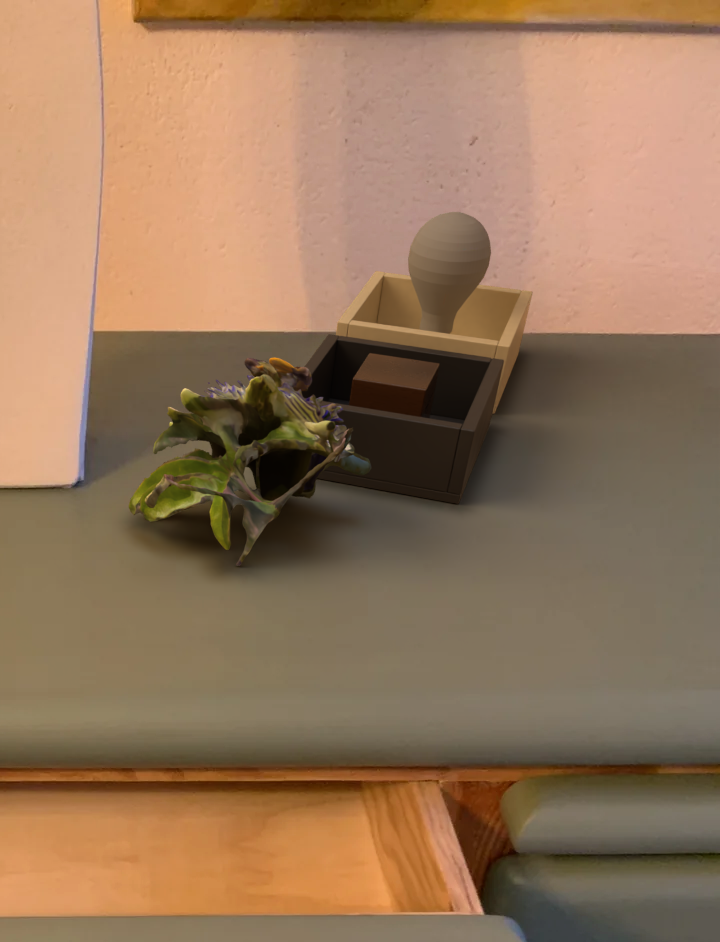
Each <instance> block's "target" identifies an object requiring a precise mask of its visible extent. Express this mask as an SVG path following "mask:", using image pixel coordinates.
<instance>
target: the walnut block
mask: <svg viewBox="0 0 720 942" xmlns="http://www.w3.org/2000/svg"><path fill="white" fill-rule="evenodd" d="M438 371H439V363H433V362H426V361H419V360H413V359H406V358H399V357H392V356H386V355H379V354H372V353H369V355H368V356H367V358H366V359H365V361H364V363H363V364H362V366H361V367H360V369H359V370H358V372H357V373H356V375H355V376H354V378H353V380H352V387H351V395H350V402H349V405H350V406H356V407H362V408H368V409H374V410H380V411H387V412H393V413H399V414H405V415H411V416H417V417H423V418H430V413H431V407H432V402H433V397H434V392H435V386H436V381H437V376H438Z"/></svg>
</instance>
